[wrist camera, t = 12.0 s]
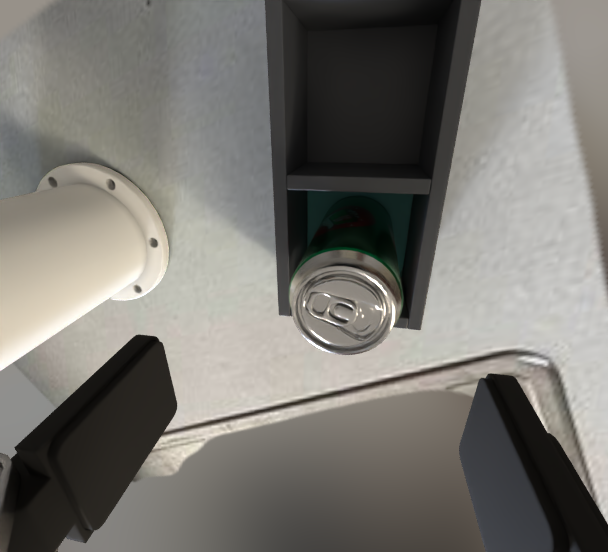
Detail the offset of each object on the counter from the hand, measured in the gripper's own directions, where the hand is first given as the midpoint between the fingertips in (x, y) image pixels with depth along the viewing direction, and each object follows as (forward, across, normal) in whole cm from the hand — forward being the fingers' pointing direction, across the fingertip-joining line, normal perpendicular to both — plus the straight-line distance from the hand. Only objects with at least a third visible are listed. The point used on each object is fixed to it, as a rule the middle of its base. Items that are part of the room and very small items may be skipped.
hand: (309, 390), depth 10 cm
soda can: (+16, -1, 0) cm, 17 cm away
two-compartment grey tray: (+17, -1, -4) cm, 18 cm away
